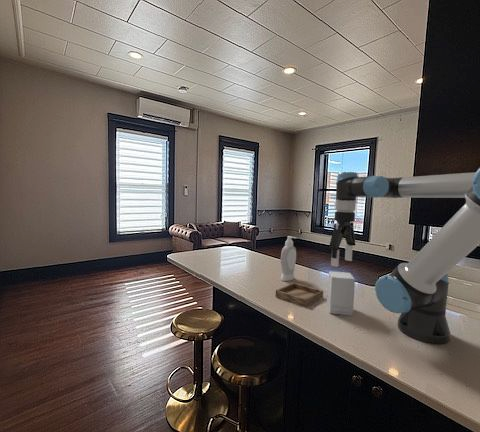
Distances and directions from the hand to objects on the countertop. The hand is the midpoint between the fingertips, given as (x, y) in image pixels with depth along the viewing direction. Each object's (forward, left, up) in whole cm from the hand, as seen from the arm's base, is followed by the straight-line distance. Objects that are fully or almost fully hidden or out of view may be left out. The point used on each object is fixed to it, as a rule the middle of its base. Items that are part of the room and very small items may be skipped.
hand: (341, 263), depth 107 cm
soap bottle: (+36, -18, -20) cm, 45 cm away
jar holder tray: (+19, 0, -20) cm, 27 cm away
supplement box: (0, 0, -20) cm, 20 cm away
